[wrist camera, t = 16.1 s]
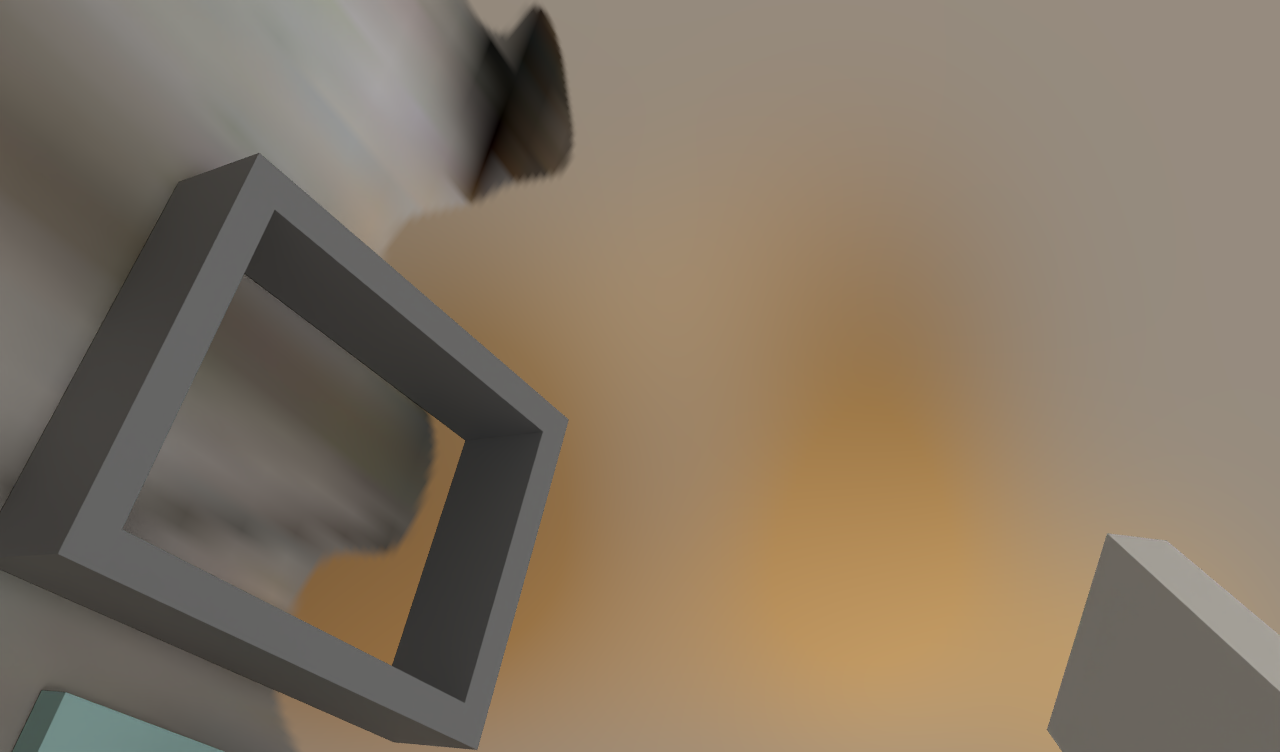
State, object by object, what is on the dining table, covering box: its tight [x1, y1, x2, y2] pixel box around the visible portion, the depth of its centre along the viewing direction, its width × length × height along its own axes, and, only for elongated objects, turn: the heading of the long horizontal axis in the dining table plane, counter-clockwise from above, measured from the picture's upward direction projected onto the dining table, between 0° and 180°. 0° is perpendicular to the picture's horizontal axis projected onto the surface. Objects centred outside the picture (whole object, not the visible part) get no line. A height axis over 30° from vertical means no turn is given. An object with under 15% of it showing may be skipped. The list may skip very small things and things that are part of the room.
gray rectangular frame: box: [0, 153, 568, 750], centre depth 45 cm, size 16×20×5 cm
